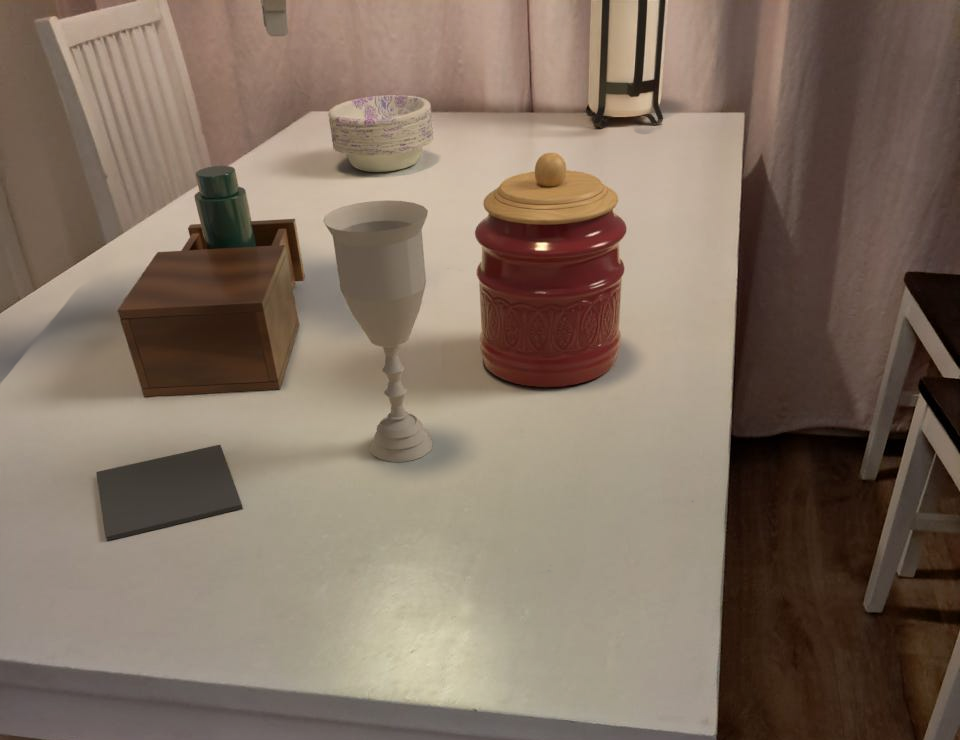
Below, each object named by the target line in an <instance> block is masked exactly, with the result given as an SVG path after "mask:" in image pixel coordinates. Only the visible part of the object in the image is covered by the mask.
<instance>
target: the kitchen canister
mask: <svg viewBox="0 0 960 740" xmlns="http://www.w3.org/2000/svg"><path fill="white" fill-rule="evenodd" d="M618 203H619V197H618V193H617V192H616V191H615V190H614V189H612V188H611V187H609V186H607V185H605V184H604V183H603V182H602V180H601V179H599V178H598V177H597V176H596V175H593V174H590V173H587V172H583V171H575V170H567V165H566V161H565V159H564V158H563V157H562V155H560V154H559V153H556V152H547V153H544V154H542V155H541V156H539V157H538V159H537V161H536V162H535V165H534V171H529V172H524V173H520V174H516V175H512V176H510V177H508V178H506V179H504V180H503V181H502V182H501V183H500V184H499V186H498V187H497V188H495V189H493V190H492V191H491V192H489V193H488V194H487V195H486V196H485V197H484V199H483V203H482V204H483V208H484V210H485V211H486V212H487V213H488V214H487V216H485V218H483V219H482V220H480V222H479V223H478V224H477V226H476V227H475V229H474V237H475V239H476V241H477V242H478V244H479V245H480V246H481V261H480V262H479V264H478V265H477V268H476V277H477V279H478V283H479V284H478V285H479V306H480V326H481V327H480V334H479V342H480V343H479V345H480V347H479V348H480V353H481V355H482V358H483V364H484V366H485V368H486V369H487V370H488V371H489V372H490V373H491V374H493V375H494V376H496V377H497V378H499V379H501V380H504V381H506V382H509V383H513V384H516V385H521V386H526V387H536V388H557V387H559V388H560V387H568V386H574V385H579V384H583V383H585V382H590V381H592V380H595V379H597V378H599V377H601V376H603V375H604V374H606V373H607V372H609V371H610V370H611V369H612V368H613V367H614V365H615V364H616V362H617V358H618V357H617V356H618V352H619V350H620V346H621V335H622V334H621V329H620V319H621V318H620V317H621V316H620V315H621V301H622V300H621V299H622V298H621V297H622V279H623V276H624V274H625V263H624V261H623V259H622V258H621V257H620V242H621V241H622V240H623V239H624V238H625V236H626V234H627V230H628V229H627V223H626V222H625V221H624V219H623V218H622V217H621V216H620V215H619V214H617V213H616V212H614V209H615V208H616V206H617V205H618Z"/></svg>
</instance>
